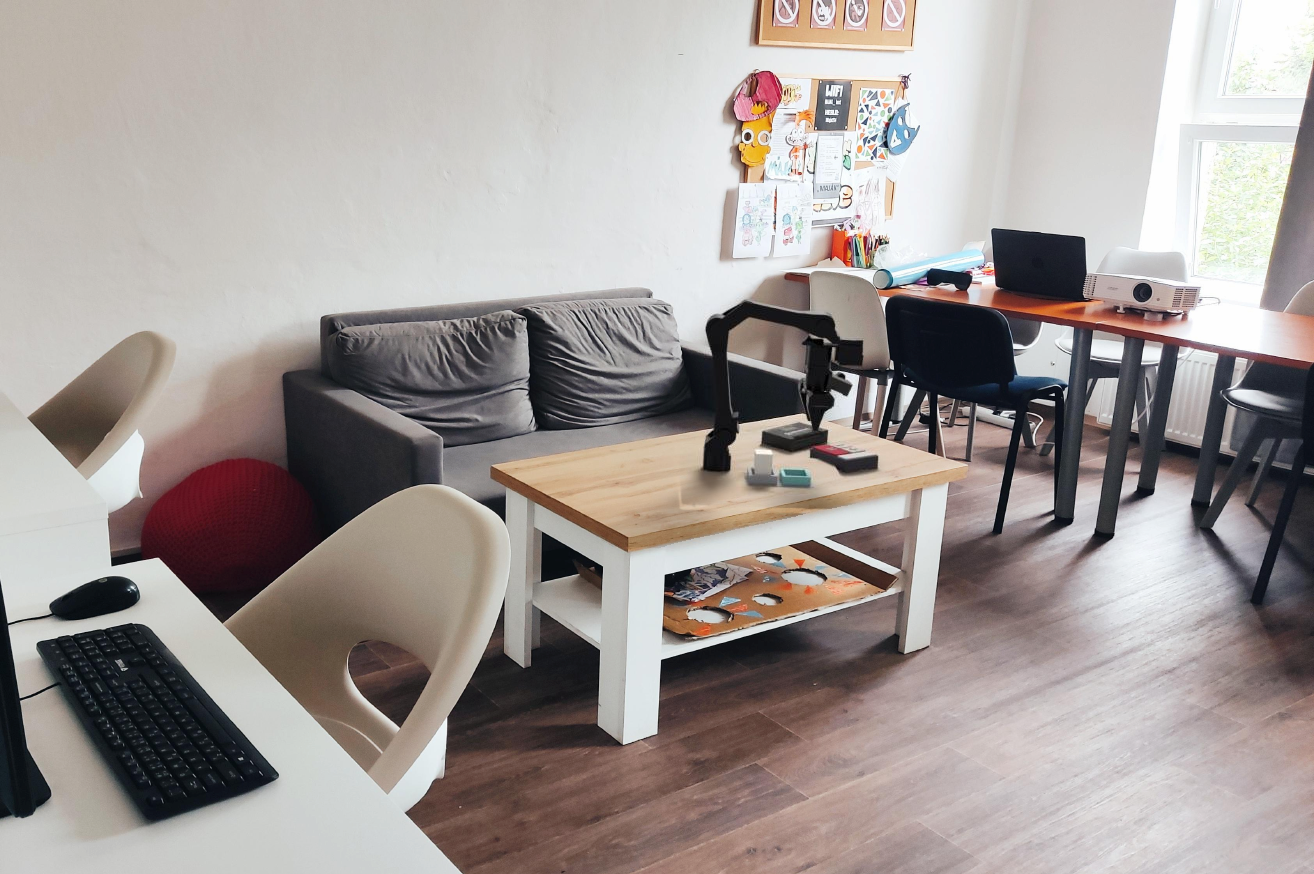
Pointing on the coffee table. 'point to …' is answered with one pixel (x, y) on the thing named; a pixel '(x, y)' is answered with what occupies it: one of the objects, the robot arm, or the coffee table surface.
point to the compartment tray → (780, 478)
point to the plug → (762, 462)
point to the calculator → (845, 457)
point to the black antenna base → (794, 437)
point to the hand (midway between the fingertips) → (812, 426)
